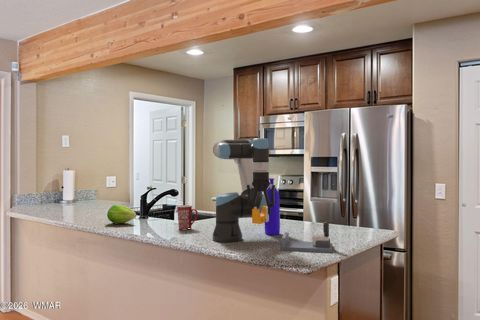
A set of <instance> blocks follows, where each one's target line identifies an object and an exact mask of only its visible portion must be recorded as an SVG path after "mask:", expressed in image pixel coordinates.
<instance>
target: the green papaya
mask: <svg viewBox="0 0 480 320" xmlns="http://www.w3.org/2000/svg"><path fill="white" fill-rule="evenodd" d="M106 217H107V219H108V220H109V222H111V223H113V224H114V225H118V224H119V225H120V223H121V224H125V223H128V222H130V221H132V220H134V219H136V218H137V213H136V212H135V211H134V210H133V209H131V208H130V207H128V206H125V205H119V204H118V205H117V204H113V205H112V206H111V207H109V208H108V209H107V213H106Z"/></svg>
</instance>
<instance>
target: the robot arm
mask: <svg viewBox="0 0 480 320" xmlns="http://www.w3.org/2000/svg"><path fill="white" fill-rule="evenodd" d="M269 148H270V145H269V139H268V138H265V137H261V138H260V137H259V138H258V137H257V138H253V139H252V140H251V139H247V138H245V139H222V140H220V141H217V142H216V143H214V145H213V147H212V153H213V154H214V156H215V157H217V158H218V159H220V160H221V159H222V160H233V161H234V163H235V164H236V165H237V168H238V175H239V180H240V186H241V193H240V194H239V192H236V191H235V192H227V193H221V194H217V196H216V197H215V205H214V206H215V225H214V230H213V232H212V241H214V242H217V243H218V242H220V243H233V242H239V241H242V240H243V233H242V229H241V226H240V222H239V221H240V220H239V219H248V218H249V219H250V218H251V219H252V209H259V213H260V214H261V211H262V206H267V207H266V222H268V221H269V214H271V207H272V206H274V205H275V194H274V189H275V188H276V184H274V185H272V184H270V180H269V178H270V172H269V171H270V157H269V156H270V153H269V152H270V151H269V150H270V149H269ZM269 186H270V189H271V204H270V200H269V196H268V192H267V189H268V188H269Z"/></svg>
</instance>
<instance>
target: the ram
mask: <svg viewBox="0 0 480 320" xmlns="http://www.w3.org/2000/svg"><path fill="white" fill-rule="evenodd" d="M322 224H323V234H312V235H311V236H312V237H311V239H312V240H311V242H312V246H316V241H325V242H329V239H330V238H329V237H330V222H328V221H325V222H322Z"/></svg>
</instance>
